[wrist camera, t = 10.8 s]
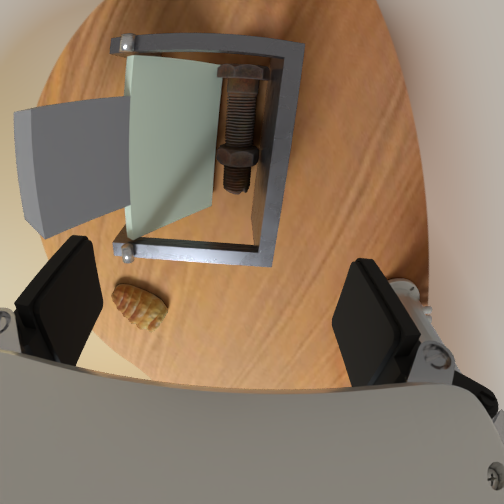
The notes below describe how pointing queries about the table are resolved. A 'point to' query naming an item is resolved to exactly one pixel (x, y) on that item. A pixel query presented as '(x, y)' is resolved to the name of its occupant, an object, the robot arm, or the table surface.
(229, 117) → the bolt
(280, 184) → the frame
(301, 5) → the table surface
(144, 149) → the trapdoor
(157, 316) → the pastry
